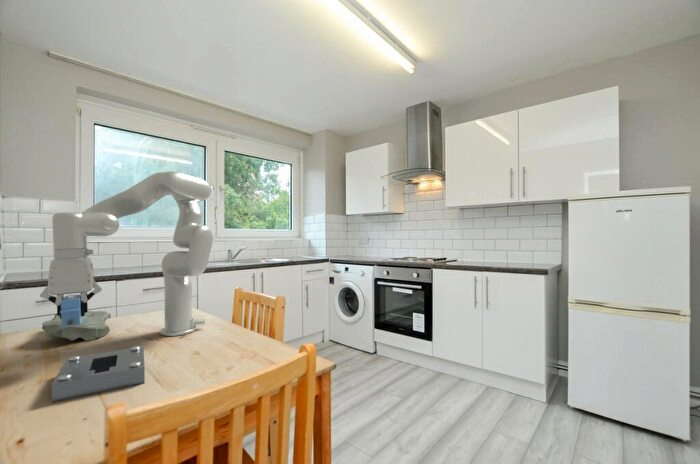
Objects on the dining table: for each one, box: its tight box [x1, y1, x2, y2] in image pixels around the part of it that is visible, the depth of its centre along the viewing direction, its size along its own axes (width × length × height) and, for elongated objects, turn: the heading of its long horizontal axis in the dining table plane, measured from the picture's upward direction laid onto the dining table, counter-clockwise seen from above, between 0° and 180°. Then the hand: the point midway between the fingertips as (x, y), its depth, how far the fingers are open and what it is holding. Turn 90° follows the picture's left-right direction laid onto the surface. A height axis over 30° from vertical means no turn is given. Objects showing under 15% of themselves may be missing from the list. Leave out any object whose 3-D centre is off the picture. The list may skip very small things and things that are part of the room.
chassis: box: [51, 345, 146, 403], centre depth 88 cm, size 18×18×5 cm
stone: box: [41, 310, 111, 342], centre depth 125 cm, size 28×8×20 cm
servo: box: [60, 293, 84, 327], centre depth 97 cm, size 4×11×8 cm, turn 33°
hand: (73, 315), depth 97 cm, fingers closed on servo, 4 cm apart
